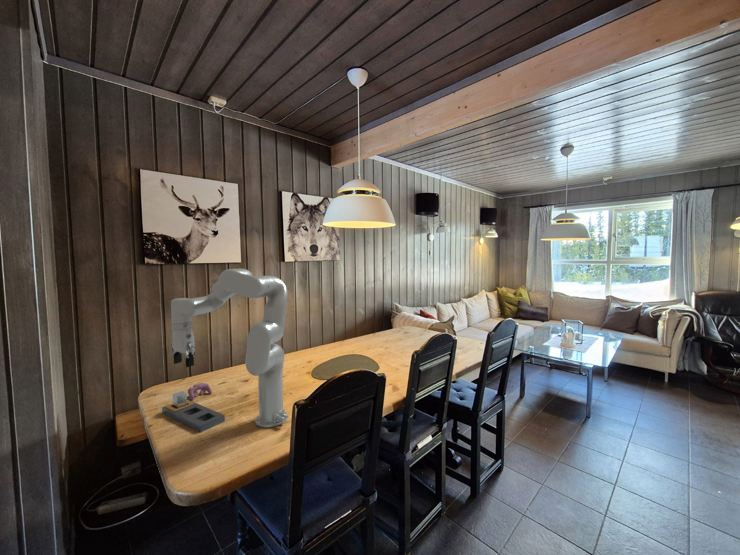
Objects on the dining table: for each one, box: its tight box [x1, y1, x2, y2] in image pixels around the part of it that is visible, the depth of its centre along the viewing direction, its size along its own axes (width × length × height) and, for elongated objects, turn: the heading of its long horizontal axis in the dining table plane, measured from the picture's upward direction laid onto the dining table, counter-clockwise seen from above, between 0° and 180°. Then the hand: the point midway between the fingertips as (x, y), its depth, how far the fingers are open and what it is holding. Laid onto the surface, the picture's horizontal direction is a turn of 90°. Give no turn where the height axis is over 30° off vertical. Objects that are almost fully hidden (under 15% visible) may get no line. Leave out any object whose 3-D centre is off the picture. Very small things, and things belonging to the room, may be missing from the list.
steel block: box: [172, 390, 188, 409], centre depth 136 cm, size 4×4×8 cm
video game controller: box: [187, 382, 213, 401], centre depth 152 cm, size 10×5×7 cm, turn 142°
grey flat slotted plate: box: [161, 399, 226, 433], centre depth 131 cm, size 30×10×3 cm, turn 58°
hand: (183, 364), depth 136 cm, fingers open, 9 cm apart
